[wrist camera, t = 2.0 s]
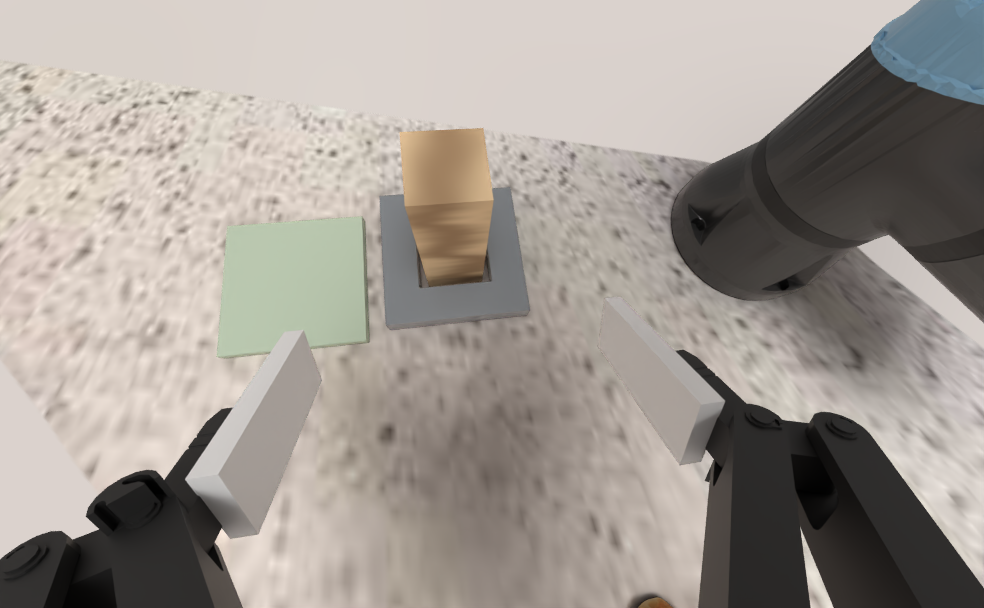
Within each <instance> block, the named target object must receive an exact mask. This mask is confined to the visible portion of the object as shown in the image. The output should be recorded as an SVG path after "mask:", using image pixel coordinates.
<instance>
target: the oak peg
mask: <svg viewBox="0 0 984 608" xmlns="http://www.w3.org/2000/svg"><path fill="white" fill-rule="evenodd" d="M400 144H401V158H402V173H403V187H404V202H405V209H406V212H407V215H408V219H409V222H410V225H411V228H412V232H413V235H414V238H415V242H416V245H417V248H418V252H419V255H420V258H421V261H422V265H423V268H424V271H425V275H426V278H427V281H428V284H429V287H433V286H443V285H454V284H464V283H475V282H482V277H483V270H484V263H485V257H486V250H487V243H488V236H489V229H490V222H491V215H492V208H493V201H494V199H493V193H492V186H491V179H490V172H489V165H488V158H487V151H486V144H485V138H484V131H483V128H477V129H456V130H435V131H414V132H400Z"/></svg>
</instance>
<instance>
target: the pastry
mask: <svg viewBox="0 0 984 608" xmlns="http://www.w3.org/2000/svg"><path fill="white" fill-rule="evenodd" d="M638 608H673V607H671V606H670V605H669V604H668V603H667V602H666V601H664V600H663V599H661V598H659V597H655V598H652V599H648V600H646V601H644V602H643V603H642V604H641V605H640V606H639V607H638Z"/></svg>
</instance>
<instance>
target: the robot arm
mask: <svg viewBox="0 0 984 608" xmlns="http://www.w3.org/2000/svg"><path fill="white" fill-rule="evenodd" d="M672 231H673V235H674V239H675V242H676V245H677V247H678V249H679V251H680V253H681V255H682V257H683V258H684V260H685V261H686V263H687V264H688V265H689V267H690V268H691V269H692V270H693V271H694V272H695V273H696V274H697V275H698V276H699V277H700V278H701V279H702V280H703V281H705V282H706V283H707V284H709V285H710V286H712V287H713V288H715V289H717V290H718V291H720V292H722V293H725V294H727V295H730V296H732V297H736V298H739V299H744V300H752V301H762V300H770V299H774V298H777V297H780V296H783V295H786V294H789V293H792V292H795V291H797V290H799V289H801V288H803V287H805V286H807V285H808V284H810V283H811V282H812V281H814V280H815V279H816V278H817V277H819V276H820V275H821V274H822V273H824V272H825V271H826V270H827V269H829V268H830V267H831V266H832V265H834V264H835V263H836V262H837V261H839V260H840V259H841V258H842V257H844V256H845V255H846V254H847V253H849V252H850V251H851V250H852V249H854V248H855V247H857V246H860V245H862V244H864V243H867V242H869V241H872V240H874V239H877V238H880V237H882V236H886V235H890V236H891V237H892V238H894V239H895V240H896V241H897V242H898V243H899V244H900V245H901V246H903V247H904V248H905V249H906V250H907V251H908V252H909V253H910V254H911V255H912V256H913V257H914V258H915V259H916V260H917V261H918V262H919V263H920V264H921V265H922V266H923V267H925V269H927V270H928V271H929V272H930V273H931V274H932V275H933V276H934V277H935V278H936V279H937V280H938V281H939V282H941V283H942V284H943V285H944V286H945V287H946V288H947V289H948V290H949V291H950V292H951V293H952V294H954V296H956V297H957V298H958V299H959V300H960V301H961V302H962V303H963V304H964V305H965V306H966V307H967V308H968V309H969V310H970V311H972V312H973V313H974V314H975V315H976V316H977V317H978V318H979V319H980V320H981V321H982V322H983V323H984V0H920V1H919V2H918V3H917V4H916V5H914V6H913V7H912V8H911V9H909V10H908V11H907V12H906V13H905V14H903V15H901V16H900V17H898V18H896V19H894V20H892V21H891V22H889V23H888V24H887V25H886V26H884V27H883V28H882V29H881V30H880V31H879V32H878V33H877V34H876V35H875V36H874V40H873V42H872V44H871V45H869V46H868V47H867V48H866V49H865V50H864V51H863V52H862V53H860V54H859V55H858V56H857V57H856V58H855V59H854V60H852V61H851V62H850V63H849V64H848V65H847V66H846V67H844V68H843V69H842V70H841V71H840V72H839V73H837V74H836V75H835V76H834V77H833V78H832V79H831V80H829V81H828V82H827V83H826V84H825V85H824V86H822V87H821V88H820V89H819V90H818V91H817V92H816V93H815V94H813V95H812V96H811V97H810V98H809V99H808V100H806V101H805V102H804V103H803V104H802V105H801V106H800V107H799V108H797V109H796V110H795V111H794V112H793V113H792V114H790V115H789V116H788V117H787V118H786V119H785V120H784V121H782V122H781V123H780V124H779V125H778V126H777V127H776V128H775V129H773V130H772V131H771V132H770V133H769V134H768V135H767V136H765V138H763V139H762V140H761V141H759V142H757V143H755V144H753V145H751V146H749V147H747V148H745V149H742V150H741V151H738V152H736V153H734V154H732V155H730V156H728V157H726V158H723V159H722V160H719V161H717V162H715V163H713V164H711V165H709V166H707V167H706V168H704V169H703V170H702V171H700V172H699V173H698V174H697V175H696V176H695V177H694V178H693V179H692V180H691V181H690V182H688V183H687V184H686V185H685V186H684V188H683V189H682V190H681V191H680V193H679V194H678V196H677V198H676V200H675V203H674V206H673V210H672ZM598 348H599V349H600V351H601V352H602V353H603V355H604V356H605V358H606V359H607V361H608V362H609V364H610V365H611V367H612V368H613V369H614V371H615V372H616V374H617V375H618V377H619V378H620V380H621V381H622V382H623V384H624V385H625V387H626V388H627V390H628V391H629V393H630V394H631V395H632V397H633V398H634V400H635V401H636V403H637V404H638V406H639V407H640V409H641V410H642V411H643V413H644V414H645V416H646V417H647V419H648V420H649V422H650V423H651V424H652V426H653V427H654V429H655V430H656V432H657V433H658V435H659V436H660V437H661V439H662V440H663V442H664V443H665V445H666V446H667V448H668V449H669V450H670V452H671V453H672V455H673V456H674V458H675V459H676V461H677V462H678V464H679V465H683V464H690V463H696V462H701V460H702V458H703V455H704V453H705V450H707V451H708V452H709V453H710V455H711V456H712V457H713V458H714V460H713V463H712V465H711V467H710V470H709V472H708V474H707V477H706V479H705V481H707V482H709V481H710V484H709V495H708V506H707V517H706V528H705V539H704V551H703V562H702V573H701V584H700V595H699V606H698V608H810V600H809V592H808V585H807V577H806V569H805V561H804V554H803V546H802V538H801V530H802V532H803V534H804V537H805V539H806V542H807V544H808V546H809V549H810V551H811V554H812V556H813V559H814V561H815V563H816V566H817V568H818V571H819V573H820V575H821V578H822V580H823V583H824V585H825V588H826V590H827V592H828V595H829V597H830V600H831V602H832V605H833V607H834V608H984V588H983V586H982V585H981V584H980V582H979V581H978V580H977V578H976V577H975V576H974V574H973V573H972V571H971V570H970V569H969V567H968V566H967V565H966V563H965V562H964V561H963V559H962V558H961V557H960V555H959V554H958V553H957V551H956V550H955V548H954V547H953V546H952V544H951V543H950V542H949V540H948V539H947V538H946V536H945V535H944V534H943V532H942V531H941V529H940V528H939V527H938V525H937V524H936V523H935V521H934V520H933V519H932V517H931V516H930V515H929V513H928V512H927V511H926V509H925V508H924V506H923V505H922V504H921V502H920V501H919V500H918V498H917V497H916V496H915V494H914V493H913V492H912V490H911V489H910V487H909V486H908V485H907V483H906V482H905V481H904V479H903V478H902V477H901V475H900V474H899V473H898V471H897V470H896V469H895V467H894V466H893V464H892V463H891V462H890V460H889V459H888V458H887V456H886V455H885V454H884V452H883V451H882V450H881V448H880V447H879V446H878V444H877V443H876V441H875V440H874V439H873V437H872V436H871V435H870V434H869V433H868V432H867V431H866V430H865V429H864V428H863V427H862V426H860V425H859V424H857V423H856V422H854V421H853V420H851V419H848V418H846V417H844V416H842V415H838V414H834V413H830V412H819V413H816V414H814V416H813V418H812V419H811V421H810V423H802V422H793V421H785V420H782V419H781V418H780V417H779V416H778V415H776V414H775V413H773V412H772V411H770V410H768V409H766V408H763V407H761V406H758V405H753V404H746V403H745V402H744V401H743V400H742V399H741V398H740V397H739V396H738V395H737V394H736V393H735V392H733V391H732V390H731V389H730V388H729V387H728V386H727V385H726V384H725V383H724V382H723V381H722V380H721V379H720V378H719V377H718V376H715V374H714V373H713V372H712V371H711V370H710V369H708V368H707V366H706V365H705V364H704V363H703V362H702V361H701V360H699V359H698V358H697V357H696V356H694V355H692V354H690V353H688V352H687V351H685V350H679V351H675V350H674V349H673V348H672V347H671V346H670V345H669V344H668V343H667V342H666V341H665V340H664V339H663V338H662V337H661V336H660V335H659V334H658V333H657V332H656V331H655V330H654V329H653V328H652V327H651V326H650V325H649V324H648V323H647V322H646V321H645V320H644V319H643V318H642V317H641V316H640V315H639V314H638V313H637V312H636V311H635V310H634V309H633V308H632V307H631V306H630V305H629V304H628V303H627V302H626V301H625V300H624V299H623V298H622V297H621V296H619V297H609V298H605V300H604V307H603V314H602V321H601V328H600V335H599V342H598ZM321 381H322V379H321V376H320V373H319V371H318V368H317V365H316V362H315V360H314V357H313V354H312V351H311V349H310V346H309V343H308V340H307V338H306V335H305V332H304V330H297V331H287V332H284V333H283V334H282V336H281V337H280V339H279V340H278V342H277V343H276V345H275V346H274V348H273V349H272V351H271V352H270V354H269V355H268V357H267V358H266V360H265V361H264V363H263V364H262V366H261V367H260V369H259V370H258V372H257V373H256V375H255V376H254V377H253V379H252V380H251V382H250V383H249V385H248V386H247V388H246V389H245V391H244V392H243V394H242V395H241V397H240V398H239V400H238V401H237V403H236V404H235V406H234V407H233V408H226V409H221V410H220V411H219V412H218V413H217V414H215V415H214V416H213V417H212V418H211V419H209V420H208V421H207V422H206V423H205V425H204V426H203V428H202V429H201V430H200V432H199V433H198V434H197V438H195V439H194V440H193V441H192V443H191V444H190V445H189V449H187V450H186V451H185V452H184V454H183V455H182V456H181V458H180V459H179V461H178V462H177V463H176V465H175V466H174V467H173V469H172V470H171V472H170V473H169V474H168V476H167V477H166V478H165V480H164V479H163V478H162V477H161V476H160V475H159V474H158V473H157V472H156V471H153V470H144V471H139V472H135V473H133V474H130V475H128V476H126V477H124V478H121V479H120V480H118V481H117V482H115V483H113V484H112V485H110V486H109V487H107V488H106V489H105V490H104V491H103V492H102V493H100V494H99V495H98V496H97V497H96V498H95V500H94V501H93V502H92V503H91V505H90V506H89V507H88V511H87V514H86V517H87V518H88V519H89V520H90V521H91V522H92V523H93V524H94V525H96V526H97V527H98V528H99V530H97V531H94V532H91V533H89V534H87V535H84V536H81V537H79V538H76V539H73V540H72V539H71V538H70V537H69V536H67V535H66V534H65V533H63V532H62V531H51V532H48V533H45V534H42V535H39V536H36V537H34V538H32V539H30V540H28V541H27V542H25V543H23V544H21V545H19V546H18V547H16V548H15V549H13V550H12V551H11V552H9V553H8V554H6V555H5V556H4V557H2V558H1V559H0V608H243V607H242V605H241V602H240V600H239V597H238V595H237V592H236V590H235V587H234V585H233V582H232V580H231V577H230V575H229V572H228V570H227V567H226V565H225V562H224V560H223V557H222V555H221V552H220V550H219V547H218V546H217V545H216V544H215V543H214V542H215V540H216V538H217V536H218V534H219V532H220V530H221V528H222V529H223V530H224V531H225V533H226V534H227V535H228V537H229V538H230V539H232V538H238V537H245V536H251V535H257V534H259V532H260V529H261V527H262V524H263V522H264V520H265V517H266V515H267V512H268V510H269V507H270V505H271V503H272V500H273V498H274V495H275V493H276V490H277V488H278V486H279V483H280V481H281V478H282V476H283V474H284V471H285V469H286V466H287V464H288V461H289V459H290V457H291V454H292V452H293V449H294V447H295V444H296V442H297V440H298V437H299V435H300V432H301V430H302V428H303V425H304V423H305V420H306V418H307V415H308V413H309V411H310V408H311V406H312V403H313V401H314V398H315V396H316V394H317V391H318V389H319V386H320V384H321ZM800 527H801V530H800Z"/></svg>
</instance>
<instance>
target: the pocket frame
mask: <svg viewBox="0 0 984 608" xmlns="http://www.w3.org/2000/svg"><path fill="white" fill-rule="evenodd" d="M492 193H493V199H494V201H493V208H492V215H491V222H490V229H489V236H488V243H487V250H486V257H487V265H488V273H489V280H490V282H480V283H470V284H459V285H449V286H438V287H428V288H421V279H420V266H419V253H418V248H417V245H416V242H415V238H414V235H413V232H412V228H411V225H410V222H409V219H408V215H407V212H406V209H405V202H404V194H403V195H388V196H380V215H381V236H382V257H383V278H384V298H385V319H386V326H387V327H388V328H389V329H390V330H395V329H404V328H414V327H423V326H432V325H442V324H451V323H460V322H469V321H479V320H488V319H497V318H507V317H516V316H525V315H527V314H528V312H529V311H530V307H529V301H528V295H527V288H526V282H525V276H524V270H523V264H522V257H521V251H520V245H519V239H518V233H517V226H516V220H515V214H514V208H513V202H512V195H511V189H510V187H507V188H492Z"/></svg>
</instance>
